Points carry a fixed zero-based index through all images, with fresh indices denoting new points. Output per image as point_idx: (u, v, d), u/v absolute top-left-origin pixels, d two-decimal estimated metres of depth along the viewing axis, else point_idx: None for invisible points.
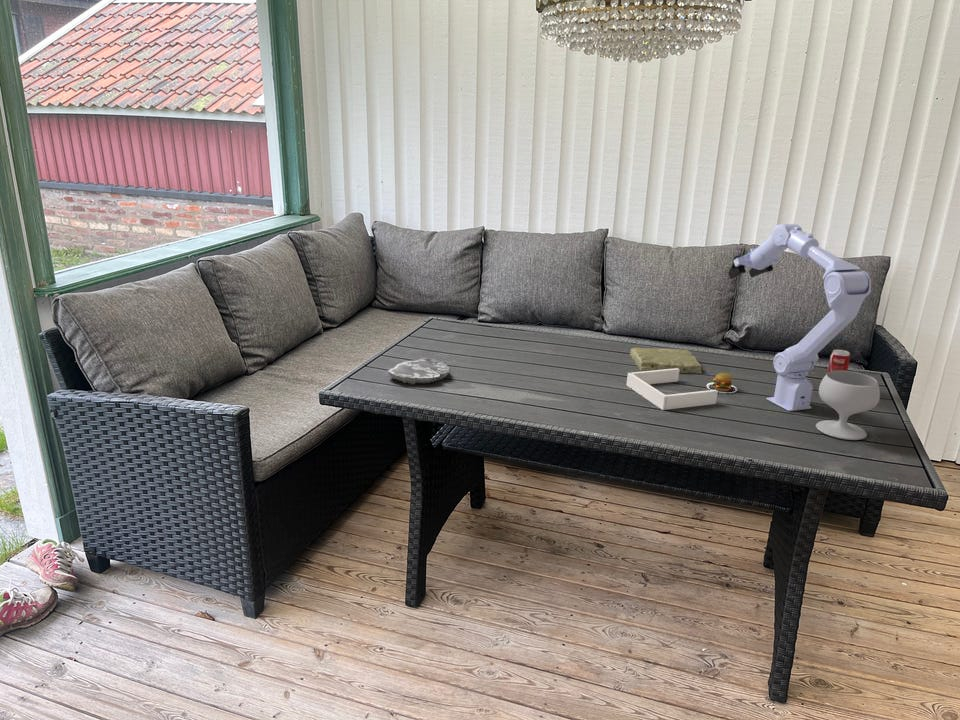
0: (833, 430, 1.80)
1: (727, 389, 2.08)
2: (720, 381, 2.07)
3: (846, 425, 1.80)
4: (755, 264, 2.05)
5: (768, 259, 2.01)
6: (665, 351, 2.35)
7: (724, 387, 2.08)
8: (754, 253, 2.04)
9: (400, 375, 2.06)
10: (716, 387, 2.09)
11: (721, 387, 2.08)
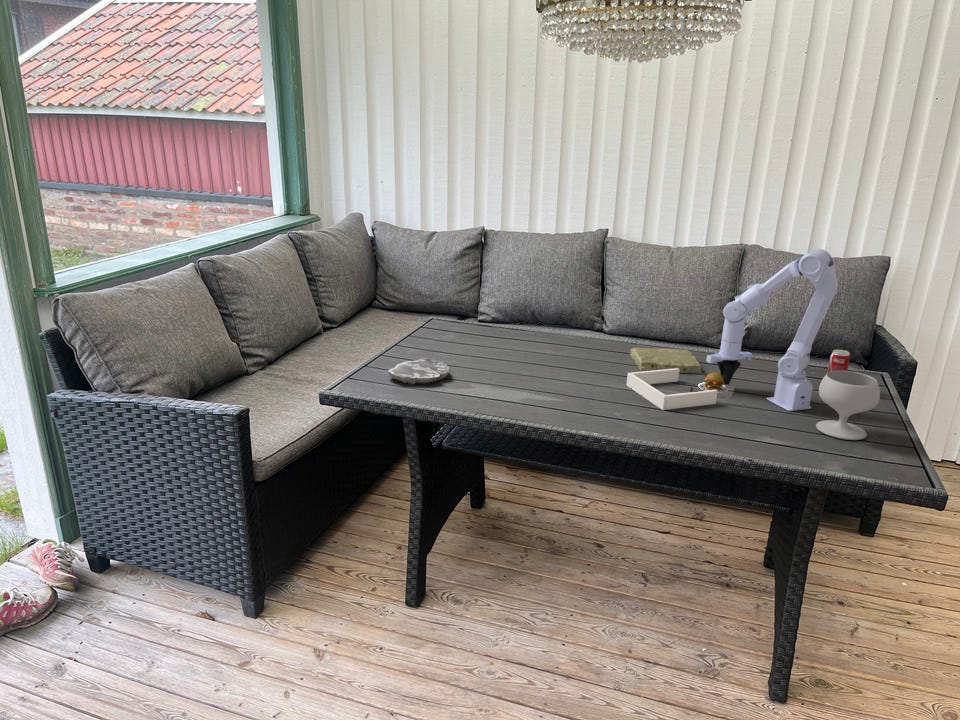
0: (833, 430, 1.80)
1: (719, 389, 2.07)
2: (712, 381, 2.07)
3: (846, 425, 1.80)
4: (727, 355, 2.05)
5: (735, 342, 2.03)
6: (665, 351, 2.35)
7: (716, 387, 2.07)
8: (721, 347, 2.06)
9: (400, 375, 2.06)
10: (708, 387, 2.08)
11: (713, 387, 2.07)
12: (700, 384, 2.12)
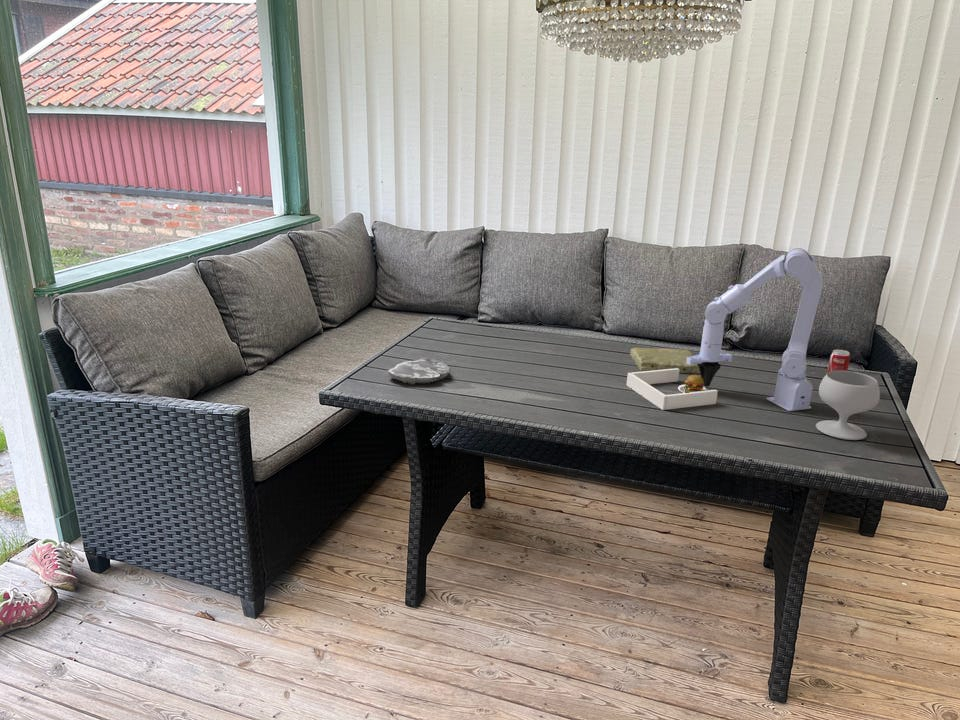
0: (833, 430, 1.80)
1: None
2: (692, 383, 2.05)
3: (846, 425, 1.80)
4: (707, 357, 2.02)
5: (714, 344, 2.01)
6: (665, 351, 2.35)
7: (696, 389, 2.05)
8: (701, 348, 2.04)
9: (400, 375, 2.06)
10: (688, 389, 2.06)
11: (693, 389, 2.05)
12: (680, 386, 2.10)
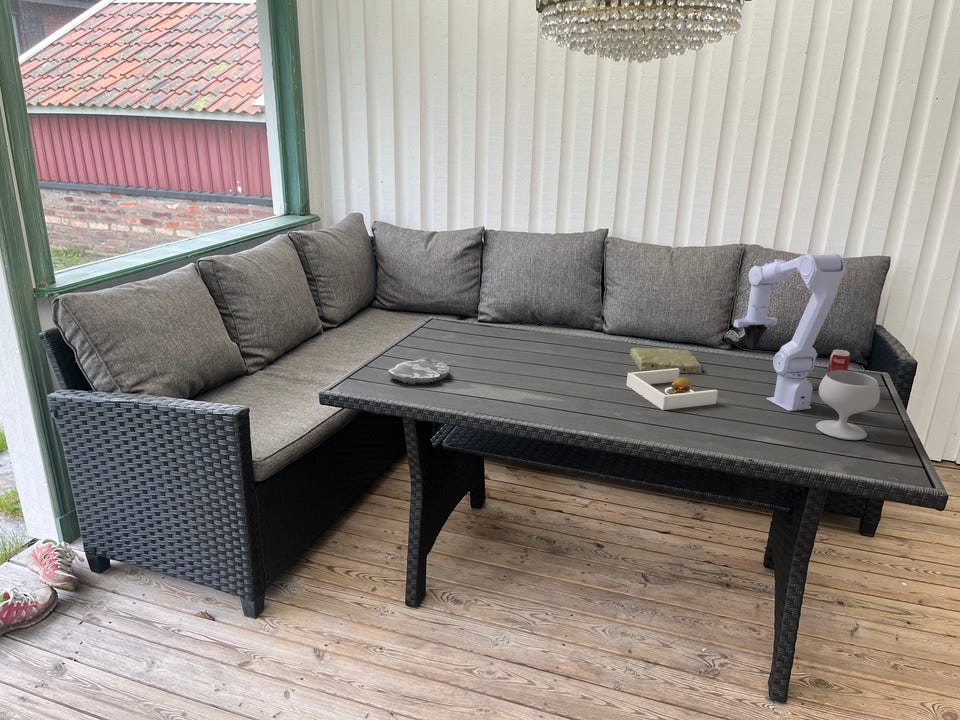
0: (833, 430, 1.80)
1: None
2: (678, 386, 2.03)
3: (846, 425, 1.80)
4: (754, 319, 2.10)
5: (762, 307, 2.08)
6: (665, 351, 2.35)
7: (682, 392, 2.03)
8: (748, 312, 2.11)
9: (400, 375, 2.06)
10: (674, 392, 2.04)
11: (679, 392, 2.03)
12: (667, 389, 2.08)
